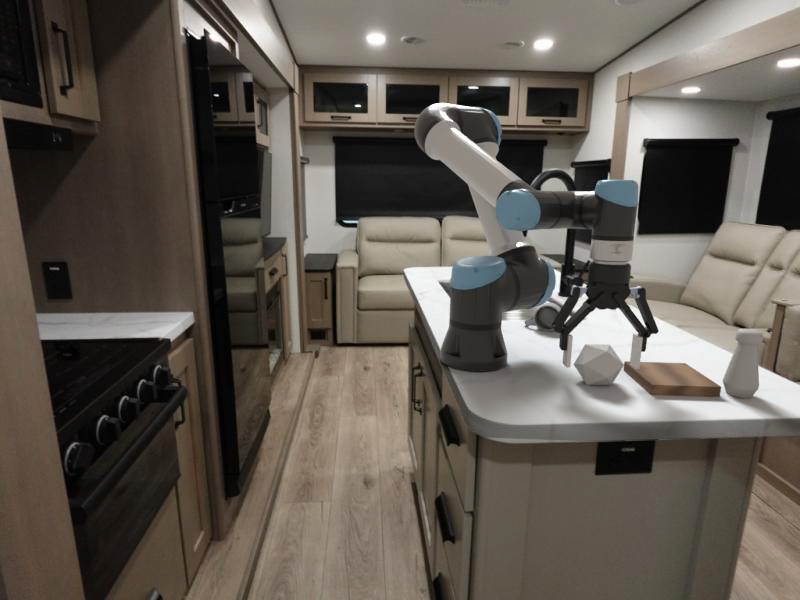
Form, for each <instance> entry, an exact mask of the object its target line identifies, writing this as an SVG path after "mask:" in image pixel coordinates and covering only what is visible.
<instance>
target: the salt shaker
mask: <svg viewBox="0 0 800 600" xmlns="http://www.w3.org/2000/svg"><path fill="white" fill-rule="evenodd" d="M734 337H735V338H734V339H735V340H736V341H737V345H736V346H735V349H734V351H733V354H732V356H731V358H730V361H729V362H728V366H727V368H726V371H725V373H724V375H723V378H722V383H723V387H724V390H725V393H727V394H728V395H730V396H731V397H736V398H739V399H751V398H753V396H754V395H755V393H756V392H757V391H758V390H759V388H760V381H759V380H760V377H759V346H758V345H762V343H763V340H764V334H763V332H761V331H759V330H756V329H754V328H753V329H752V328H739V329H738V330H737V331H736V333H735V335H734Z"/></svg>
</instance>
